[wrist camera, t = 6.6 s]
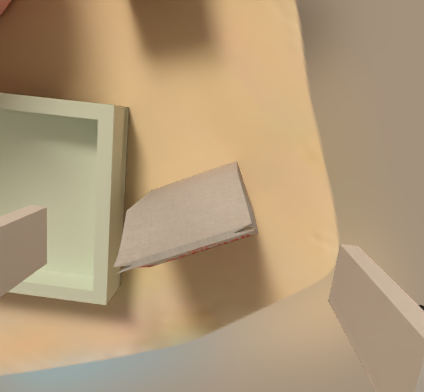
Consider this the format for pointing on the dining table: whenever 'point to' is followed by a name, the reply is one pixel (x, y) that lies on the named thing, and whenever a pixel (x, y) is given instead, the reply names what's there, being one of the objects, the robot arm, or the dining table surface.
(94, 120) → the tray
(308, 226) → the dining table surface
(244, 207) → the tea bag
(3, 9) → the cake
